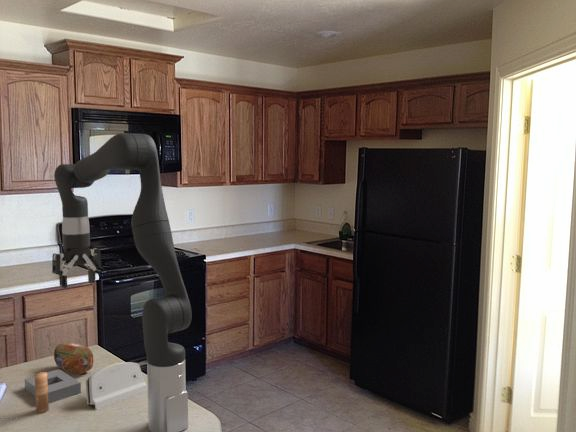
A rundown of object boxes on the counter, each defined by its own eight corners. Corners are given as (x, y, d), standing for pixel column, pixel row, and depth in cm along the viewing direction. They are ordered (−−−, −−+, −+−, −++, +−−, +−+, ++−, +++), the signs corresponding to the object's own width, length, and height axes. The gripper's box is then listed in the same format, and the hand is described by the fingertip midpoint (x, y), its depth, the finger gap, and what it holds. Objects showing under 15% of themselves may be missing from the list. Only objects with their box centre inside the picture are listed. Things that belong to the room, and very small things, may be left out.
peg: (50, 410, 141) (49, 374, 140) (39, 414, 138) (37, 377, 137) (45, 406, 143) (44, 371, 142) (34, 410, 141) (32, 374, 139)
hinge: (95, 410, 141) (87, 372, 142) (87, 410, 144) (80, 373, 145) (149, 390, 153) (142, 356, 155) (141, 391, 156) (134, 357, 158)
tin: (53, 367, 169) (52, 342, 168) (61, 364, 172) (60, 339, 171) (87, 376, 163) (87, 350, 162) (95, 372, 166) (94, 346, 165)
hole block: (80, 392, 151) (80, 382, 151) (45, 404, 144) (44, 393, 144) (59, 378, 161) (58, 369, 161) (25, 388, 154) (24, 378, 153)
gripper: (58, 235, 150) (61, 291, 151) (104, 230, 160) (106, 283, 162) (46, 232, 154) (48, 287, 156) (91, 228, 165) (93, 279, 167)
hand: (78, 285), depth 159 cm, fingers open, 8 cm apart
